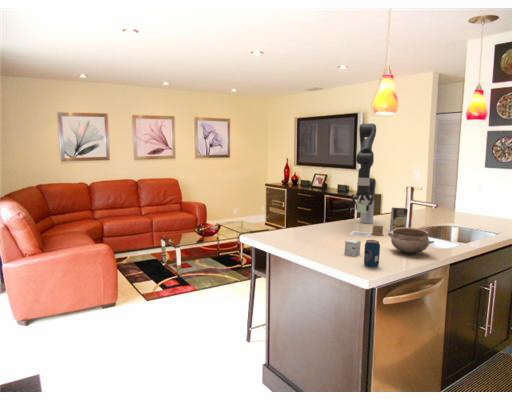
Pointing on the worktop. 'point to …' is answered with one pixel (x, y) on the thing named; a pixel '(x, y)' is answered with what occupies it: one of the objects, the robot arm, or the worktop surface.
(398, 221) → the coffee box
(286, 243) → the worktop surface
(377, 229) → the walnut block
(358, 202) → the robot arm
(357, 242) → the skincare box
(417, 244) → the cooking pot
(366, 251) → the soda can
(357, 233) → the letter
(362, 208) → the sage cube
